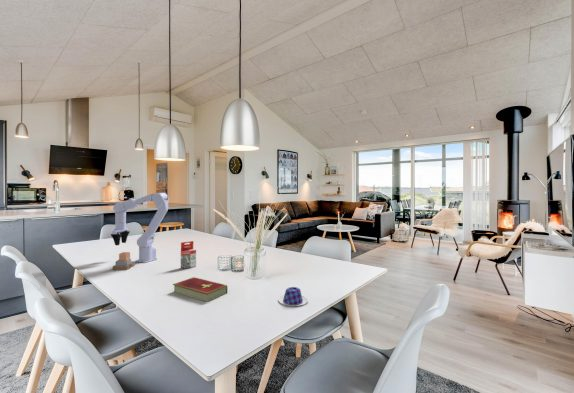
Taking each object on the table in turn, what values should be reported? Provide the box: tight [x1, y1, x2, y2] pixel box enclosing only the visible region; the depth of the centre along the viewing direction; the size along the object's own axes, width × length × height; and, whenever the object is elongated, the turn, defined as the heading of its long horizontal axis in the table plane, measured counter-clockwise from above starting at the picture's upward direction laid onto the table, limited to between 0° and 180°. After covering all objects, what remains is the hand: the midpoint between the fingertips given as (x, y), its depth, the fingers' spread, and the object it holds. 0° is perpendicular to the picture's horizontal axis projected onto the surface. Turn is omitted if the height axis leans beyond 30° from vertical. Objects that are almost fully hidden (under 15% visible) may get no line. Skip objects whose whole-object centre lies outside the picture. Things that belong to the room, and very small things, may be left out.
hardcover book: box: [172, 276, 228, 302], centre depth 124 cm, size 12×21×4 cm, turn 60°
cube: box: [118, 251, 131, 261], centre depth 161 cm, size 4×4×4 cm
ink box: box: [180, 240, 197, 270], centre depth 163 cm, size 4×8×15 cm, turn 134°
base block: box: [112, 262, 136, 271], centre depth 161 cm, size 8×8×2 cm
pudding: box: [278, 286, 308, 307], centre depth 116 cm, size 12×12×5 cm
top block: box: [114, 258, 132, 266], centre depth 161 cm, size 6×6×2 cm
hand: (120, 244), depth 176 cm, fingers open, 7 cm apart
